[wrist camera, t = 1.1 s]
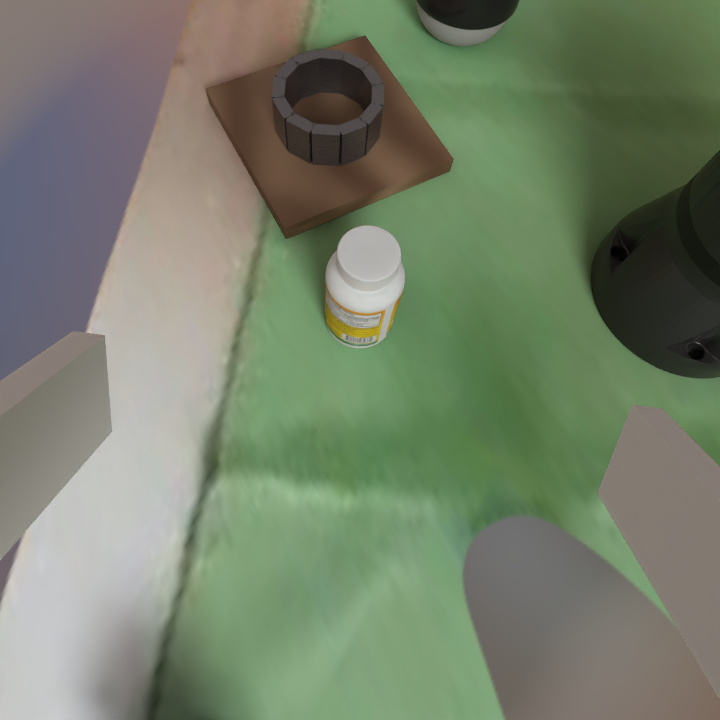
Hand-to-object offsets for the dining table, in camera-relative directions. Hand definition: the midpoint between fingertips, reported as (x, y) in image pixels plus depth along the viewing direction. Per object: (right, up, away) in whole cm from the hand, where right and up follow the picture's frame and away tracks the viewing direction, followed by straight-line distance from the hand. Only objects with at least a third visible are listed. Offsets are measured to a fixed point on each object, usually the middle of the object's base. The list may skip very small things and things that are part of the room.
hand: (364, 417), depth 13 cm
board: (-3, +22, +34) cm, 40 cm away
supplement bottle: (0, +5, +28) cm, 29 cm away
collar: (-3, +22, +33) cm, 39 cm away
